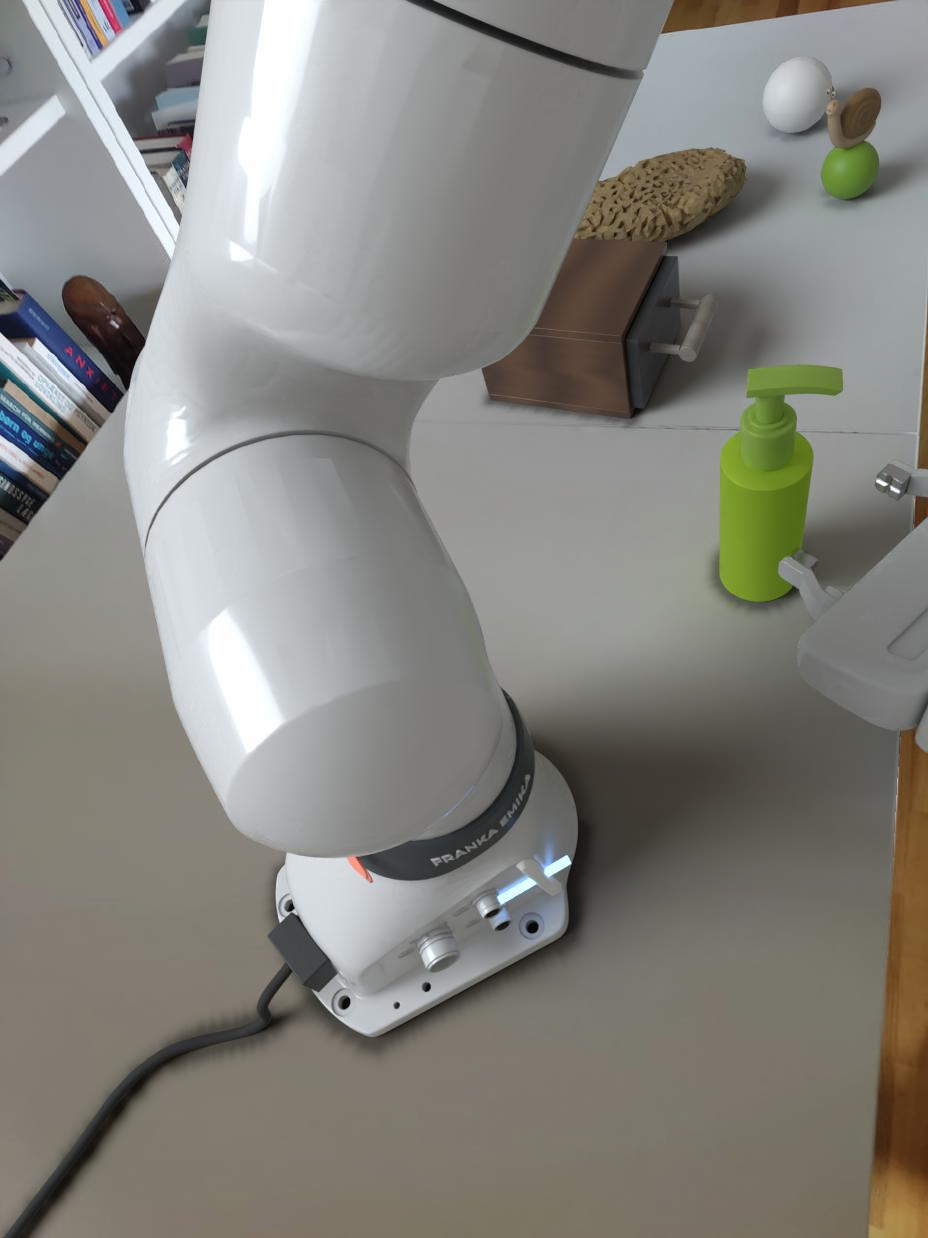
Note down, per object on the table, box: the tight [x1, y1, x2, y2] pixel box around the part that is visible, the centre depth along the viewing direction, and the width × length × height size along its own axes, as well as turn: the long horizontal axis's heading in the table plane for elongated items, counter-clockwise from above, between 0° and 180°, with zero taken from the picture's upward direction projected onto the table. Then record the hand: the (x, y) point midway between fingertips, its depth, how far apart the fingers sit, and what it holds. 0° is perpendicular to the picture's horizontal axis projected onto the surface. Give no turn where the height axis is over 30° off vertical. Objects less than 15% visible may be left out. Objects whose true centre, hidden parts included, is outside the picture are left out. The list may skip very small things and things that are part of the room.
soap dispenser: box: [718, 364, 844, 603], centre depth 59 cm, size 6×7×20 cm
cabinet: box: [480, 238, 668, 420], centre depth 81 cm, size 15×13×10 cm
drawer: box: [625, 255, 720, 409], centre depth 79 cm, size 18×11×8 cm, turn 65°
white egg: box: [762, 55, 835, 134], centre depth 95 cm, size 10×7×7 cm
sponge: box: [574, 146, 748, 242], centre depth 91 cm, size 13×8×20 cm
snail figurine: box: [820, 87, 882, 200], centre depth 84 cm, size 5×6×12 cm
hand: (835, 515), depth 55 cm, fingers open, 8 cm apart
